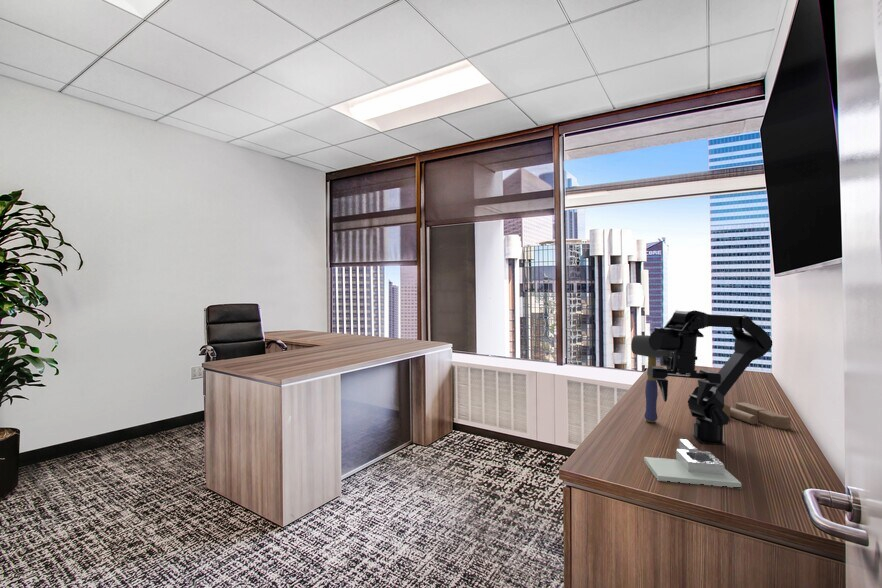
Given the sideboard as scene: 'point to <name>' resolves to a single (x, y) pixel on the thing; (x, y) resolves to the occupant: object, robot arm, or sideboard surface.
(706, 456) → the steel link
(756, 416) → the wooden block set
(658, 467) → the keeper board
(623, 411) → the sideboard surface
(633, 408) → the sideboard surface
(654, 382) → the rubber mallet
